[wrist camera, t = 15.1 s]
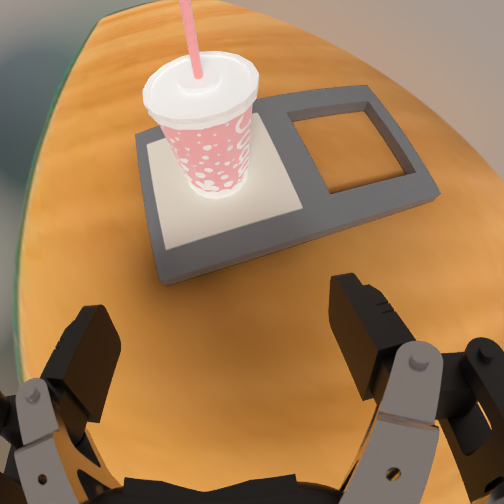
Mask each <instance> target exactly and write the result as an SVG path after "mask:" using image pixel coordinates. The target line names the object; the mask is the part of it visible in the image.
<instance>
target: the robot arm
mask: <svg viewBox="0 0 504 504" xmlns="http://www.w3.org/2000/svg"><path fill="white" fill-rule="evenodd" d="M328 314H329V322H330V326H331V329H332V331H333V334H334V336H335V338H336V340H337V343H338V345H339V347H340V349H341V352H342V354H343V356H344V358H345V361H346V363H347V365H348V368H349V370H350V372H351V375H352V377H353V379H354V382H355V384H356V386H357V389H358V391H359V394H360V396H361V398H362V401H364V400H368V399H371V398H374V400H375V402H376V404H377V406H376V408H375V411H374V414H373V416H372V419H371V421H370V424H369V427H368V429H367V432H366V434H365V436H364V439H363V441H362V443H361V446H360V448H359V450H358V453H357V455H356V457H355V459H354V461H353V463H352V465H351V467H350V469H349V471H348V473H347V475H346V477H345V478H344V480H343V482H342V484H341V486H340V488H339V490H337V489H335V488H332V487H329V486H326V485H321V484H317V483H309V482H297V481H296V476H295V474H292V475H286V476H279V477H272V478H264V479H255V480H249V481H246V482H242V483H239V484H236V485H232V486H229V487H225V488H221V489H217V490H213V491H209V492H201V491H196V490H192V489H188V488H184V487H180V486H177V485H173V484H170V483H166V482H163V481H153V480H143V479H134V478H126V477H125V479H124V486H121V485H120V483H119V482H118V481H117V480H116V479H115V478H114V477H113V476H112V475H111V473H110V472H109V470H108V469H107V467H106V465H105V463H104V461H103V459H102V457H101V456H100V454H99V452H98V449H97V447H96V445H95V443H94V441H93V439H92V437H91V435H90V433H89V431H88V430H87V428H86V424H87V422H94V423H100V419H101V415H102V412H103V408H104V404H105V401H106V397H107V394H108V390H109V387H110V384H111V380H112V377H113V374H114V371H115V367H116V364H117V361H118V358H119V355H120V352H121V342H120V338H119V335H118V333H117V331H116V329H115V327H114V325H113V323H112V321H111V319H110V316H109V314H108V312H107V310H106V308H105V307H104V306H103V305H91V306H84V307H82V309H81V310H80V312H79V314H78V316H77V317H76V319H75V320H74V321H73V322H72V323H71V324H70V325H69V326H68V327H67V328H66V329H65V330H64V332H63V334H62V336H61V338H60V341H58V343H57V345H56V347H55V348H56V349H54V351H53V353H52V354H51V356H50V358H49V360H48V362H47V364H46V366H45V368H44V370H43V372H42V374H41V377H40V378H33V379H30V380H28V381H26V382H25V383H24V384H23V385H22V386H21V387H20V388H19V390H18V392H17V394H16V395H12V396H6V397H5V396H4V395H3V394H2V392H1V391H0V435H1V436H2V437H3V438H5V439H6V440H7V441H8V442H9V443H10V444H11V448H10V451H9V455H8V459H7V463H6V467H5V471H4V474H3V473H1V472H0V504H419V503H420V501H421V498H422V495H423V492H424V489H425V486H426V483H427V480H428V477H429V473H430V470H431V467H432V463H433V459H434V455H435V451H436V447H437V443H438V438H439V427H438V426H435V424H434V423H435V420H438V421H439V423H440V425H441V427H442V430H443V432H444V434H445V437H446V439H447V441H448V444H449V446H450V449H451V451H452V453H453V456H454V458H455V461H456V464H457V466H458V469H459V471H460V474H461V477H462V480H463V482H464V485H465V488H466V491H467V494H468V497H469V500H470V503H471V504H504V352H503V350H502V349H501V348H500V346H499V345H498V344H497V343H495V342H494V341H492V340H490V339H488V338H482V337H480V338H475V339H473V340H471V341H470V342H469V343H468V345H467V347H466V349H465V351H464V352H457V353H440V352H439V350H438V349H437V348H435V347H434V346H433V345H431V344H429V343H427V342H423V341H416V339H415V338H414V337H413V335H412V334H411V332H410V331H409V329H408V328H407V327H406V325H405V324H404V322H403V321H402V320H401V318H400V317H399V316H398V314H397V313H396V311H395V312H394V309H393V307H392V306H391V305H390V303H389V304H388V301H387V299H386V298H385V297H384V295H383V294H382V293H381V292H380V291H379V290H377V289H376V288H374V287H372V286H371V285H369V284H368V285H362V283H361V282H360V281H359V279H358V278H357V277H356V275H355V274H354V273H347V274H341V275H336V276H332V277H331V279H330V294H329V312H328ZM478 401H479V403H480V405H481V406H482V408H483V410H484V412H485V414H486V416H487V418H488V420H489V422H490V424H491V428H492V431H491V429H490V427H489V425H488V423H487V421H486V419H485V417H484V415H483V413H482V411H481V409H480V407H479V405H478V404H477V403H478Z"/></svg>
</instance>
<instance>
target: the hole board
mask: <svg viewBox="0 0 504 504" xmlns="http://www.w3.org/2000/svg"><path fill="white" fill-rule="evenodd" d="M358 111H365V113H366V114H367V115H368V117H369V118H370V120H371V121H372V122H373V124H374V125H375V127H376V128H377V130H378V131H379V132H380V134H381V135H382V137H383V138H384V140H385V141H386V143H387V145H388V146H389V148H390V149H391V151H392V152H393V154H394V156H395V157H396V159H397V160H398V162H399V164H400V165H401V167H402V169H403V170H404V172H405V174H406V175H404V176H400V177H396V178H392V179H388V180H384V181H380V182H376V183H372V184H368V185H364V186H360V187H356V188H353V189H349V190H345V191H341V192H338V193H334V194H330V193H329V191H328V189H327V187H326V185H325V183H324V181H323V179H322V177H321V175H320V173H319V171H318V169H317V167H316V165H315V163H314V161H313V159H312V157H311V156H310V154H309V152H308V150H307V148H306V146H305V144H304V143H303V141H302V139H301V137H300V135H299V134H298V132H297V130H296V128H295V127H294V125H293V123H292V122H294V121H299V120H305V119H310V118H316V117H322V116H329V115H335V114H342V113H350V112H358ZM135 138H136V147H137V156H138V164H139V172H140V180H141V187H142V193H143V200H144V206H145V212H146V218H147V223H148V229H149V234H150V239H151V245H152V250H153V254H154V259H155V264H156V268H157V273H158V277H159V282H161V283H162V284H164V285H165V286H168V285H171V284H174V283H178V282H181V281H184V280H187V279H191V278H194V277H197V276H200V275H203V274H207V273H210V272H213V271H216V270H219V269H223V268H226V267H229V266H232V265H235V264H239V263H242V262H245V261H248V260H251V259H254V258H258V257H261V256H264V255H267V254H270V253H273V252H277V251H280V250H283V249H286V248H289V247H292V246H295V245H299V244H302V243H305V242H308V241H311V240H314V239H317V238H320V237H324V236H327V235H330V234H333V233H336V232H339V231H342V230H345V229H348V228H352V227H355V226H358V225H361V224H364V223H367V222H370V221H373V220H376V219H379V218H382V217H386V216H389V215H392V214H395V213H398V212H401V211H404V210H407V209H410V208H413V207H416V206H419V205H422V204H425V203H428V202H431V201H433V200H435V199H436V198H437V197H438V196H439V195H440V194H441V193H440V191H439V189H438V187H437V185H436V184H435V182H434V180H433V178H432V177H431V175H430V173H429V171H428V170H427V168H426V166H425V165H424V163H423V162H422V160H421V158H420V157H419V155H418V154H417V152H416V150H415V149H414V147H413V146H412V144H411V143H410V141H409V140H408V138H407V137H406V135H405V134H404V133H403V131H402V130H401V128H400V127H399V126H398V124H397V123H396V121H395V120H394V119H393V117H392V116H391V115H390V113H389V112H388V111H387V109H386V108H385V107H384V105H383V104H382V103H381V102H380V100H379V99H378V98H377V97H376V95H375V94H374V93H373V92H372V91H371V89H370V88H369V87H368V86H367V85H360V86H346V87H335V88H325V89H317V90H309V91H302V92H295V93H288V94H282V95H277V96H271V97H266V98H261V99H256V100H255V101H254V102H253V104H252V119H251V133H250V148H249V164H248V174H247V180H246V181H245V183H244V184H243V186H242V188H241V189H239V190H238V191H236V192H235V193H234V194H232V195H230V196H227V197H223V198H220V199H218V198H206V197H204V196H202V195H200V194H197V193H196V192H195V191H194V189H193V188H192V187H191V186H190V184H189V182H188V180H187V179H186V177H185V175H184V173H183V171H182V169H181V167H180V165H179V163H178V161H177V159H176V157H175V155H174V153H173V151H172V149H171V147H170V145H169V143H168V141H167V139H166V137H165V135H164V133H163V131H162V129H161V127H160V126H157V127H154V128H151V129H149V130H146V131H143V132H140V133H138V134H135Z"/></svg>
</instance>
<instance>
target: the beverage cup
mask: <svg viewBox="0 0 504 504" xmlns="http://www.w3.org/2000/svg"><path fill="white" fill-rule="evenodd" d="M179 3H180V8H181V14H182V19H183V24H184V29H185V34H186V40H187V45H188V50H189V55H186V56H182V57H179V58H177V59H175V60H173V61H171V62H169V63H167V64H165V65H163V66H162V67H161V68H160V69H159V70H157V71H156V72H155V73H154V74H153V75H152V76H151V77H150V78H149V79H148V81H147V83H146V85H145V87H144V89H143V101H144V105H145V107H146V108H147V109H148V114H149V115H150V116H151V117H152V118H153V119H154V120H155V121H156V122H157V123H158V124H159V125H160V127H161V129H162V131H163V133H164V135H165V137H166V139H167V141H168V143H169V145H170V147H171V149H172V151H173V153H174V155H175V157H176V159H177V161H178V163H179V165H180V167H181V169H182V171H183V173H184V175H185V177H186V179H187V180H188V182H189V184H190V186H191V187H192V188H193V189H194V191H195V192H196V193H197V194H200V195H202V196H204V197H206V198H218V199H220V198H223V197H227V196H230V195H232V194H234V193H235V192H236V191H238V190H239V189H241V188H242V186H243V184H244V183H245V181H246V180H247V174H248V164H249V148H250V133H251V119H252V104H253V102H254V101H255V100H256V98H257V92H258V81H259V73H258V71H257V70H256V68H255V67H254V65H253V63H252V62H250V61H248V60H247V59H245V58H243V57H241V56H240V55H237V54H232V53H227V52H222V51H209V52H199V48H198V42H197V36H196V30H195V24H194V18H193V12H192V6H191V0H179Z"/></svg>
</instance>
